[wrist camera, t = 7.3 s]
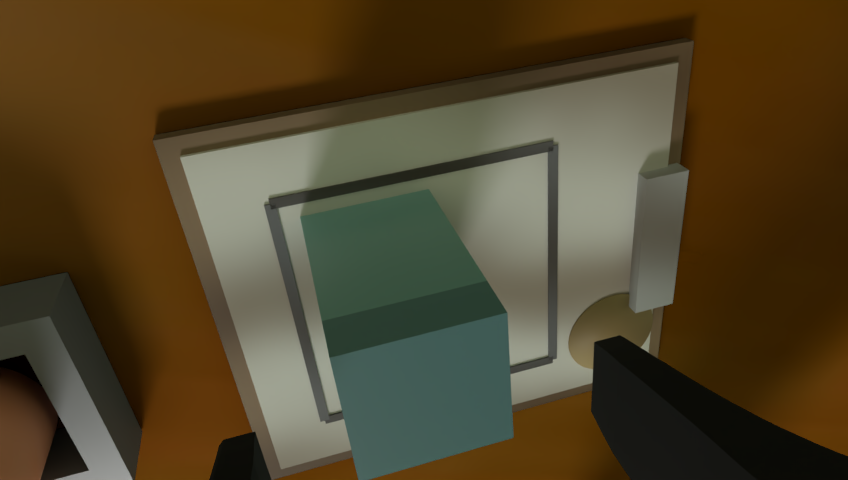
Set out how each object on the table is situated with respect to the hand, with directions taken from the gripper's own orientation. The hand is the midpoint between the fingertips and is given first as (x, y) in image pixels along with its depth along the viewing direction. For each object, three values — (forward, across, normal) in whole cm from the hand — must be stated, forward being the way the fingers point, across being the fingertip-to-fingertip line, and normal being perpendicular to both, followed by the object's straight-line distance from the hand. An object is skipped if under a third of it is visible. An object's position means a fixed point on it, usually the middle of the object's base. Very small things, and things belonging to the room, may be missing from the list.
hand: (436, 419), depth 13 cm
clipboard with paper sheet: (+7, -2, +1) cm, 7 cm away
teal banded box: (+6, 0, 0) cm, 6 cm away
